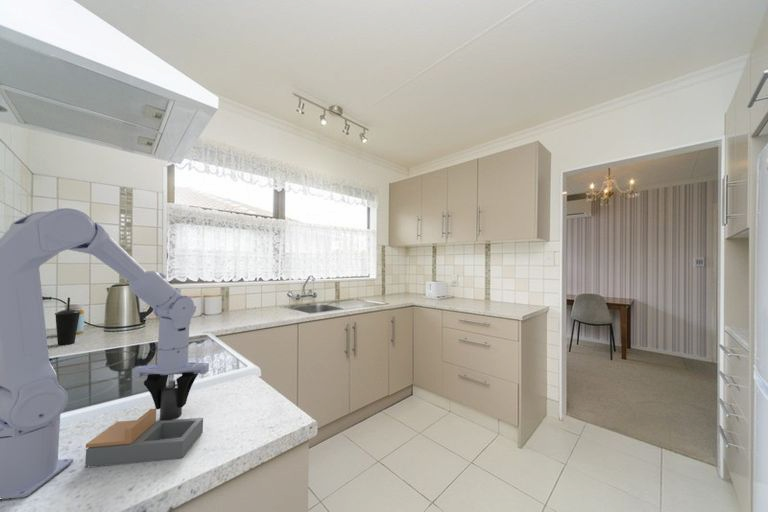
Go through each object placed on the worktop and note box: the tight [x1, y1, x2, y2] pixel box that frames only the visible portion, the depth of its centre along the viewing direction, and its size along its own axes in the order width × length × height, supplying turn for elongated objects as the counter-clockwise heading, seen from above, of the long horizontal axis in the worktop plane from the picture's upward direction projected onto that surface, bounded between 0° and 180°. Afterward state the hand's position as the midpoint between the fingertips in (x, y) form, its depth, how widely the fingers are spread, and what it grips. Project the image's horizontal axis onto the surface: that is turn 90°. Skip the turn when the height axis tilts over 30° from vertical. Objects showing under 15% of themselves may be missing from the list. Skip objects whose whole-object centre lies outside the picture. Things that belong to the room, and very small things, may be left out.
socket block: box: [84, 417, 204, 468], centre depth 53 cm, size 15×8×3 cm, turn 100°
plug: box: [159, 379, 183, 421], centre depth 65 cm, size 4×4×8 cm
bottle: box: [64, 302, 85, 335], centre depth 139 cm, size 7×7×15 cm
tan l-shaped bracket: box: [85, 408, 157, 449], centre depth 53 cm, size 7×7×3 cm
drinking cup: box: [54, 297, 81, 346], centre depth 122 cm, size 8×8×20 cm
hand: (171, 406), depth 65 cm, fingers closed on plug, 4 cm apart
